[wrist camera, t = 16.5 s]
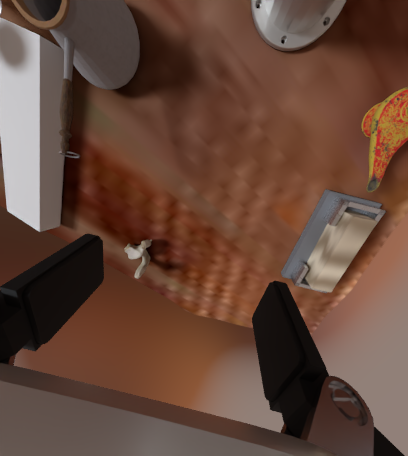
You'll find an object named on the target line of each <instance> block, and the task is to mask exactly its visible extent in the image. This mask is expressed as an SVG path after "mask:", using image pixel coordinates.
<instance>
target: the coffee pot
mask: <svg viewBox="0 0 408 456" xmlns="http://www.w3.org/2000/svg"><path fill="white" fill-rule="evenodd" d="M12 2H13V3H14V5H15V6H16V8H17V9H18V10H19V11H20V13H21V14H22V15H23V16H24V17H25V18H26V19H27V20H28V21H29V22H30V23H31V24H33V25H35V26H36V27H38V28H41V29H46V30H49V31H50V32H51V33H52V35H53V36H54V38H55V39H56V40H57V42H58V43H59V45H60V46H61V48H62V49H63V50H64V79H63V85H62V94H61V103H60V111H59V113H60V119H61V128H62V129H61V130H60V131H59V134H60V135H61V137H62V139H61V140H62V141H61V142H60V147H61V151H60V152H59V154H61V155H63V156H67V157H72V158H79V157H80V155H79V154H76V153H73V152H68V151H69V147H70V145H69V143H68V142H69V139H70V138H71V137H72V135H71V133H70V132H69V131H70V127H71V123H72V119H73V88H72V73H73V64H74V66H75V67H76V68H77V70H78V71H79V72H80V74H81V75H82V76H83V77H84V78H85V79H87V80H88V81H89V82H90V83H91V84H93V85H95V86H97V87H99V88H103V89H108V90H111V89H118V88H120V87H122V86H124V85H125V84H127V83H128V82H129V81H130V80H131V79H132V78H133V76H134V74H135V72H136V70H137V67H138V63H139V58H140V41H139V36H138V30H137V26H136V24H135V21H134V18H133V16H132V13H131V11H130V10H129V8H128V7H127V5H126V3H125V2H124V0H12ZM62 153H63V154H62ZM68 153H70V154H74V155H77V156H76V157H75V156H69V155H65V154H68Z"/></svg>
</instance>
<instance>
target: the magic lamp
mask: <svg viewBox="0 0 408 456" xmlns="http://www.w3.org/2000/svg"><path fill="white" fill-rule="evenodd" d="M362 132H363V133H364V135H365V136H367V137H369V138H370V148H369V181H368V185H367V188H366V189H367V192H373V191H375V190H376V189H377V188H378V186H379V184H380V182H381V180H382V178H383V176H384V173H385V171H386V168H387V166H388V164H389V162H390V160H391V158H392V157H393V155H394V154H395V153H396V151H397V150H398V149H399V148H400V147H401V146H402V145H403V144H404V143H405V142H406V141H407V140H408V87H406V88H403V89H401V90H399V91H397V92H395V93H393V94H392V95H390V96H389V97H388V98H387V99H386V100H384V101H383V102H382V103H379V104H377V105H375V106H374V107H372V108H371V109H370V110H369V111H368V112H367V113H366V115H365V117H364V119H363V121H362Z"/></svg>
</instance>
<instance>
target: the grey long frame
mask: <svg viewBox="0 0 408 456" xmlns="http://www.w3.org/2000/svg"><path fill="white" fill-rule="evenodd" d="M347 206H349V207H353V208H357V209H361V210H364V212H363V215H365V216H367V217H369V218H372V219H374V220H376V221H378V222H379V220H380V219H381V217H382V216H383V215H384V213H385V212H386V211H385V210H382V209H380V208H377V207H374V206H371V205H367V204H363V203H359V202H355V201H351V200H348V199H344V198H340V197H336V196H335V198H334V200H333V201H332V203H331V205H330V207H329V208H328V210H327V212H326V214H325V215H324V217H323V219H322V220H324V221H325V222H326V223H328V224H329V225H331V226H336V224H337V222H338V221H339V219H340V217H341V216H342V214H343V213H344V211H345V209H346V208H347ZM378 222H377V223H378ZM375 226H376V225H375ZM307 271H308V267H307V266H306V265H305V263H304V262H303V261H302V260H299V261H298V263H297V264H296V266H295V268H294V270H293V272H292V273H291V275H290V277H291V279H292V281H293V283H294V285H296V286H300V287H304V288H308V289H312V288H311V287H310V285H309V283H308V282H307V280H306V279H305V277H304V276H305V274H306V273H307ZM312 290H316V291H320V292H324V293H327V291H322V290H317V289H312Z"/></svg>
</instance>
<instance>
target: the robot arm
mask: <svg viewBox="0 0 408 456" xmlns="http://www.w3.org/2000/svg"><path fill="white" fill-rule="evenodd" d="M345 2H346V0H251V10H252V15H253V20H254V23H255V26H256V29H257V31H258V32H259V34H260V36H261V37H262V39H263V40H264V41H265V42H266V43H267V44H268V45H270V46H272V47H273V48H275V49H278V50H281V51H294V50H299V49H301V48H304V47H306V46H308V45H310V44H311V43H313V42H314V41H316V40H317V39H318V38H319V37H320V36H321V35H323V34H324V33H325V32H326V30H327V29H328V28H329V27H330V26H331V25H332V23H333V22H334V21H335V19H336V18H337V16H338V15H339V13H340V12H341V10H342V8H343V6H344V4H345ZM256 7H259V8H258V9H257V8H256ZM323 23H324V24H325V26H324V25H323ZM281 41H283V42H284V44H282V43H281ZM103 269H104V267H103V241H102V240H101V239H100V237H99V236H96V235H92V234H85V235H83V236H82V237H80V238H79V239H77V240H75V241H74V242H72V243H70V244H69V245H67V246H66V247H64V248H63V249H61V250H59V251H57V252H56V253H54V254H53V255H51V256H49V257H48V258H46V259H44V260H43V261H41V262H40V263H38V264H36V265H35V266H33V267H31V268H30V269H28V270H27V271H25V272H23V273H22V274H20V275H18V276H17V277H15V278H14V279H12V280H10V281H9V282H7V283H5V284H4V285H2V286H1V287H0V289H1V290H0V456H404V455H403V454H402V453H401V452H400V451H399V450H398V449H397V448H396V447H395V446H394V445H393V444H392V443H391V442H390V441H389V440H388V439H387V438H386V437H385V436H384V435H383V434H381V432H380V431H378V430H377V429H376V428H375V427H374V423H373V417H372V415H371V412H370V410H369V408H368V406H367V405H366V403H365V401H364V400H363V399H362V397H361V396H360V395H359V394H358V392H357V391H356V390H355V389H354V388H353V387H352V386H350V385H349V384H348V383H347V382H345V381H344V380H342V379H340V378H338V377H335V376H329V374H328V372H327V370H326V367H325V364H324V362H323V360H322V358H321V356H320V354H319V352H318V350H317V347H316V345H315V343H314V341H313V339H312V337H311V335H310V333H309V330H308V328H307V326H306V324H305V322H304V320H303V318H302V316H301V313H300V311H299V309H298V307H297V305H296V303H295V301H294V299H293V297H292V294H291V292H290V290H289V288H288V286H287V284H286V283H283V282H279V281H273V283H272V282H271V283H269V285H268V287H267V289H266V291H265V293H264V295H263V297H262V299H261V301H260V302H259V304H258V306H257V308H256V310H255V312H254V314H253V317H252V323H253V329H254V335H255V341H256V347H257V353H258V359H259V365H260V371H261V376H262V383H263V388H264V394H265V397H266V399H267V400H269V405H270V410H272V411H276V412H280V413H282V417H283V421H284V425H283V427H282V430H281V433H279V432H275V431H272V430H268V429H265V428H261V427H257V426H254V425H250V424H247V423H243V422H239V421H235V420H231V419H227V418H223V417H219V416H215V415H212V414H207V413H204V412H200V411H196V410H192V409H188V408H184V407H180V406H176V405H172V404H168V403H164V402H160V401H156V400H152V399H148V398H144V397H140V396H136V395H132V394H128V393H124V392H120V391H116V390H112V389H108V388H104V387H100V386H96V385H91V384H87V383H84V382H79V381H75V380H71V379H67V378H63V377H59V376H55V375H51V374H47V373H42V372H38V371H34V370H30V369H26V368H21V367H17V366H14V362H15V357H16V353H17V352H18V351H19V350H20V349H22V348H24V349H28V350H32V351H36V350H37V349H38V348H39V347H40V346H41V345H42V344H45V343H47V342H48V341H49V340H50V339H51V338H52V337H53V336H54V335H55V334H56V333H57V331H59V329H60V328H61V327H62V326H63V325H64V324H65V323H66V322H67V321H68V319H69V318H70V317H71V316H72V315H73V314H74V313H75V312H76V311H77V310H78V309H79V307H80V306H81V305H82V304H83V303H84V302H85V301H86V300H87V299H88V297H90V295H91V294H92V293H93V292H94V291H95V290H96V289H97V288H98V287H99V285H100V284H101V283H102V281H103V279H104V270H103Z"/></svg>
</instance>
